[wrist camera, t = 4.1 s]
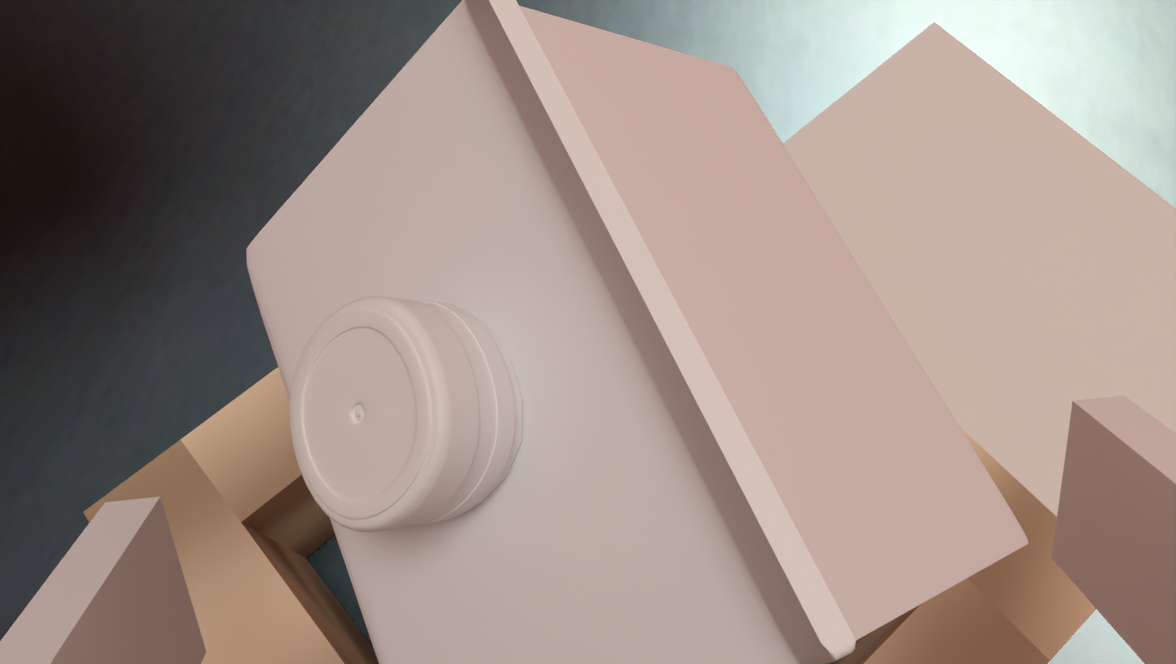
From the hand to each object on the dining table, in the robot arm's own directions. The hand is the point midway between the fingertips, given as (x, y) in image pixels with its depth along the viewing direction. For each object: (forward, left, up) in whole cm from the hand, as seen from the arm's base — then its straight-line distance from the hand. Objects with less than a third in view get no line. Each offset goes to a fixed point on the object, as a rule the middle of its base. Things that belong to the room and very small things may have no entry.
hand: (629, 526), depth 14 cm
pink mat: (0, +15, -12) cm, 19 cm away
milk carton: (-1, 0, -12) cm, 12 cm away
